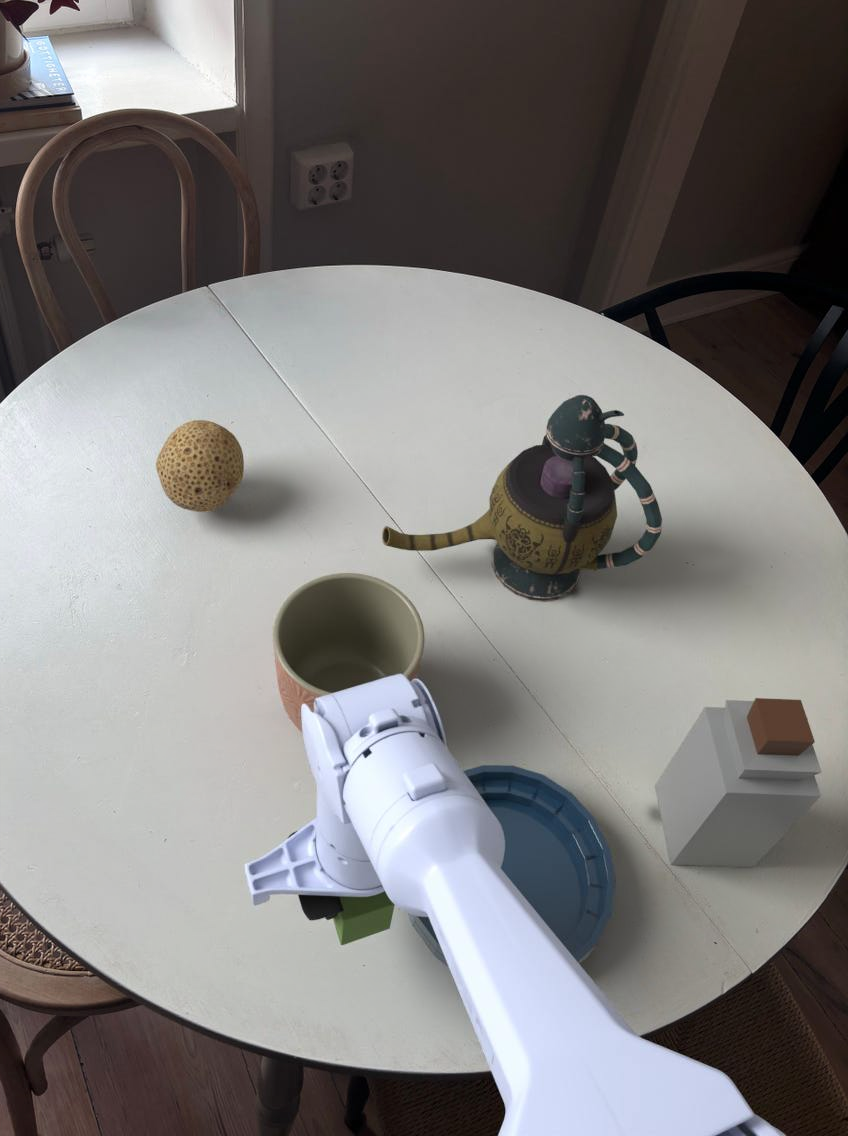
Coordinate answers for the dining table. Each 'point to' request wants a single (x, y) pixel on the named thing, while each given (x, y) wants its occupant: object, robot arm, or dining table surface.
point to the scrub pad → (363, 917)
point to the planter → (343, 638)
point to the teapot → (556, 506)
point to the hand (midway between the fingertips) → (355, 894)
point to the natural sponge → (200, 466)
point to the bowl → (546, 856)
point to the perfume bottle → (738, 782)
